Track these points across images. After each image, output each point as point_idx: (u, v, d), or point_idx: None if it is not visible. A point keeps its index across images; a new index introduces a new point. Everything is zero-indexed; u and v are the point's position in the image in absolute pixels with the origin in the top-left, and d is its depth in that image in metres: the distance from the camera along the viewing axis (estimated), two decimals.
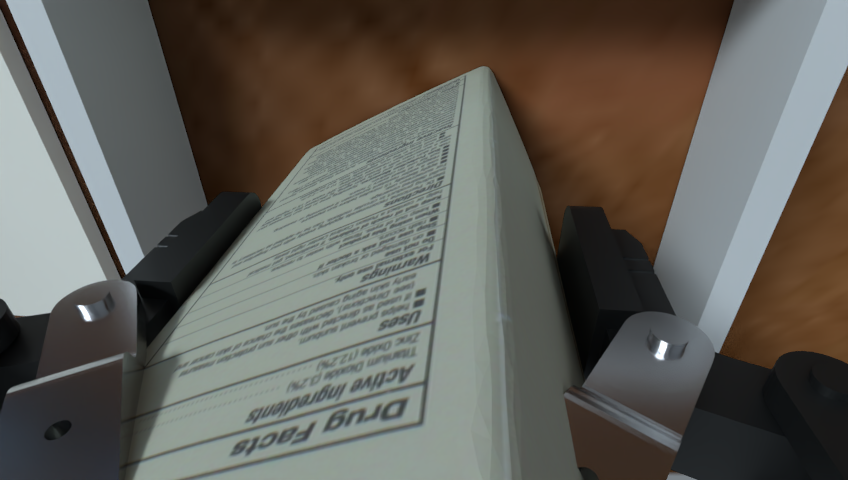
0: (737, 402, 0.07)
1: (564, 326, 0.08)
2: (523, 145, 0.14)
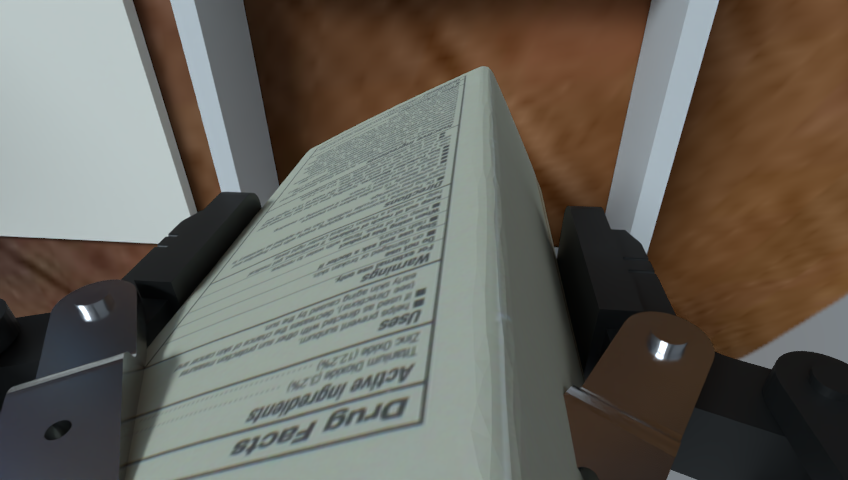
0: (737, 402, 0.07)
1: (564, 326, 0.08)
2: (523, 145, 0.14)
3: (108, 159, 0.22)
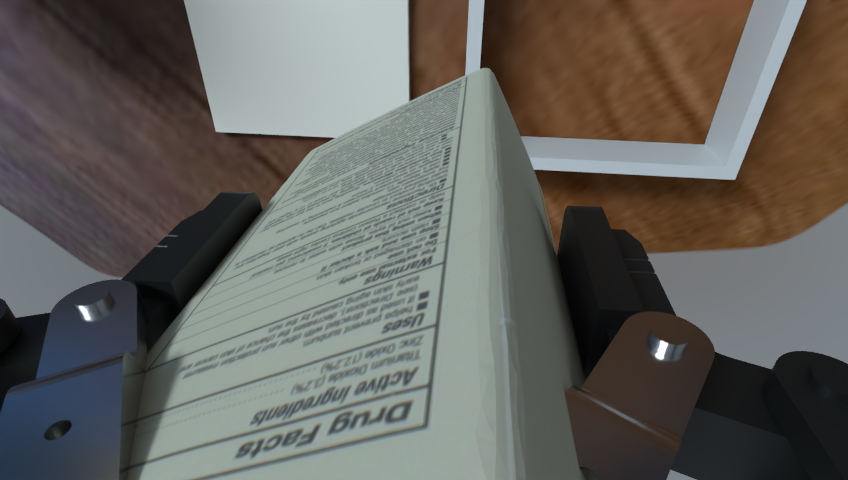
0: (737, 402, 0.07)
1: (566, 328, 0.08)
2: (524, 146, 0.14)
3: (360, 71, 0.31)
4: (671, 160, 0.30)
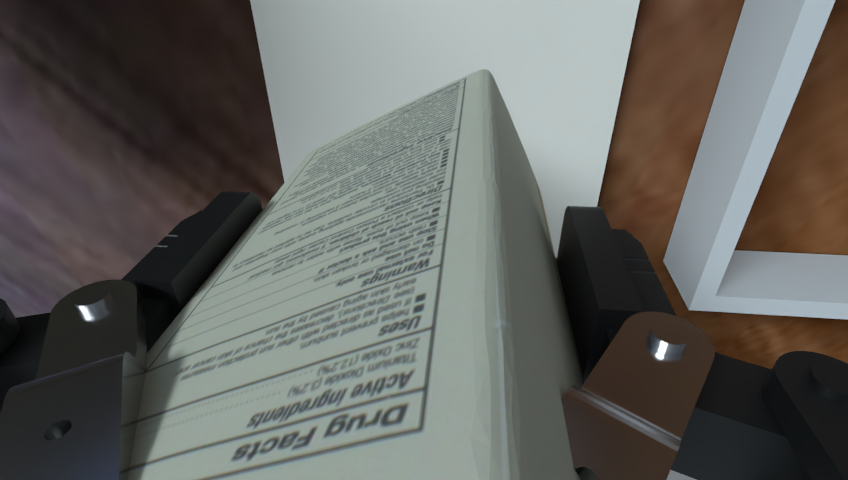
0: (737, 402, 0.07)
1: (563, 329, 0.08)
2: None
3: None
4: None
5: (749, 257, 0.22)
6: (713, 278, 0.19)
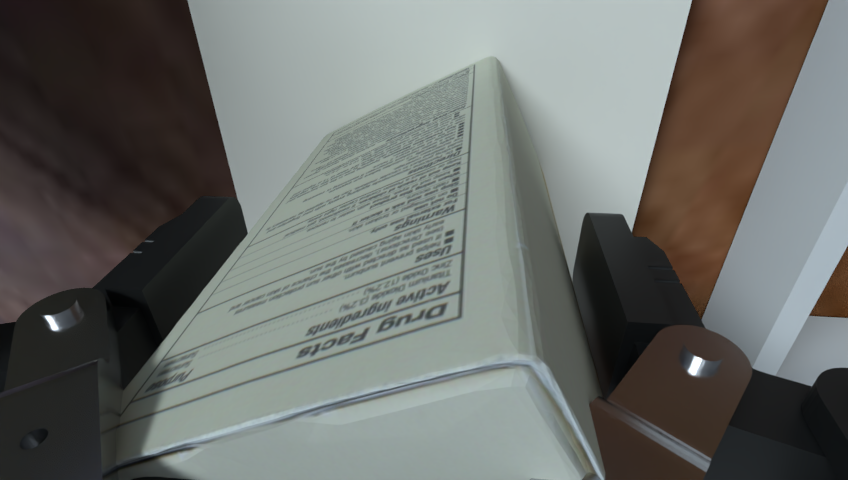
0: (775, 420, 0.06)
1: (567, 282, 0.09)
2: (527, 131, 0.15)
3: None
4: None
5: (806, 324, 0.18)
6: (771, 362, 0.15)
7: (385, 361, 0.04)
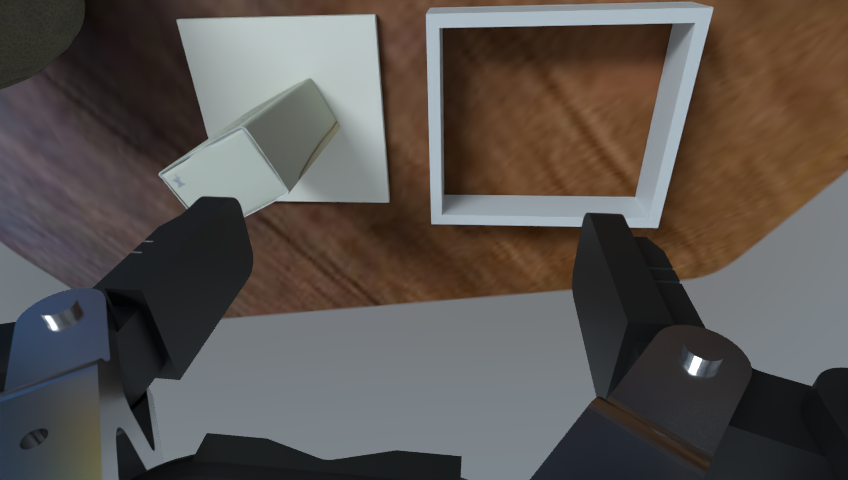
0: (776, 421, 0.06)
1: (302, 145, 0.30)
2: (328, 108, 0.36)
3: (344, 149, 0.37)
4: None
5: (476, 197, 0.39)
6: (437, 204, 0.36)
7: (224, 134, 0.25)
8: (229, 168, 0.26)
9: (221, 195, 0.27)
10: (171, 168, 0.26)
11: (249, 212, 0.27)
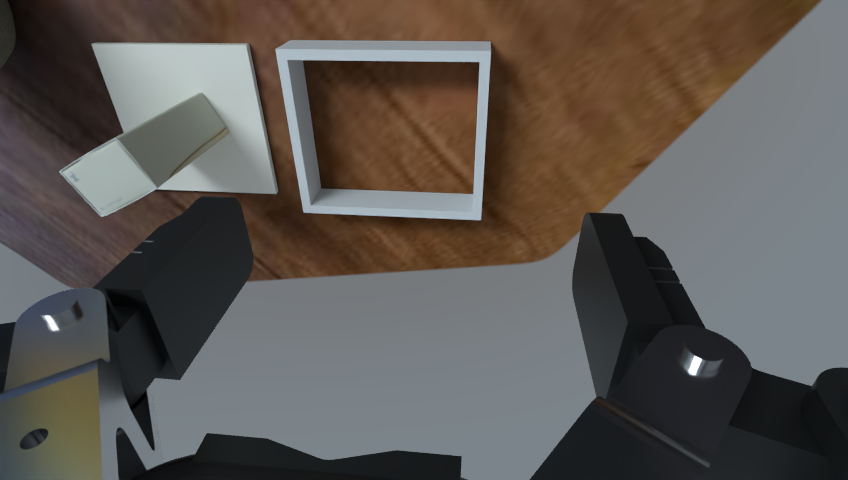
0: (775, 420, 0.06)
1: (179, 150, 0.38)
2: (218, 117, 0.44)
3: (235, 149, 0.46)
4: (440, 207, 0.44)
5: (345, 191, 0.47)
6: (305, 197, 0.45)
7: (104, 143, 0.34)
8: (110, 168, 0.34)
9: (107, 188, 0.35)
10: (68, 167, 0.35)
11: (130, 201, 0.36)
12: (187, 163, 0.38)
